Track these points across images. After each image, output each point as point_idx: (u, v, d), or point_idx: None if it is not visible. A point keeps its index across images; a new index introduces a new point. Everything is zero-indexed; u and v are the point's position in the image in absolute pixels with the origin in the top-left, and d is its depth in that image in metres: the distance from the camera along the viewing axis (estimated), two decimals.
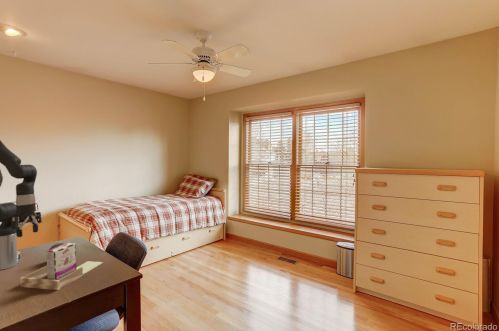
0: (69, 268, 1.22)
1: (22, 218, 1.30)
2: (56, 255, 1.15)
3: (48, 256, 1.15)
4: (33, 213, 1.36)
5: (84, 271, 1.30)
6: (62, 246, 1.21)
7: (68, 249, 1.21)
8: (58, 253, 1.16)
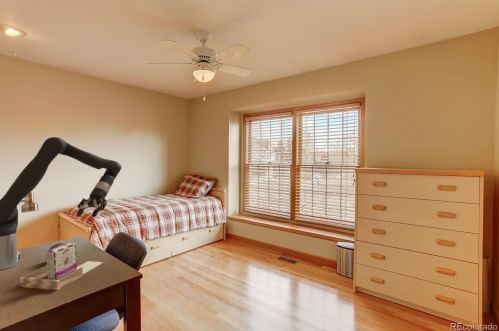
0: (69, 268, 1.22)
1: None
2: (56, 255, 1.15)
3: (48, 256, 1.15)
4: None
5: (84, 271, 1.30)
6: (62, 246, 1.21)
7: (68, 249, 1.21)
8: (58, 253, 1.16)
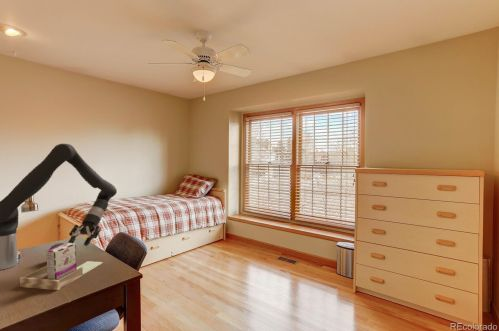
0: (69, 268, 1.22)
1: None
2: (56, 255, 1.15)
3: (48, 256, 1.15)
4: None
5: (84, 271, 1.30)
6: (62, 246, 1.21)
7: (68, 249, 1.21)
8: (58, 253, 1.16)
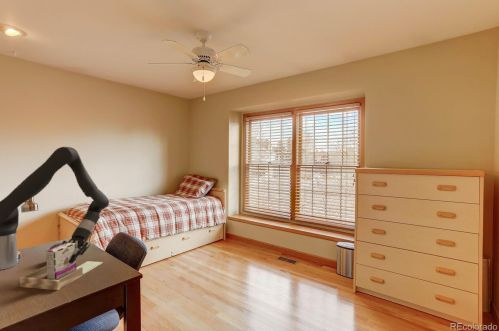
0: (69, 268, 1.22)
1: None
2: (56, 255, 1.15)
3: (48, 256, 1.15)
4: None
5: (84, 271, 1.30)
6: (62, 246, 1.21)
7: (67, 249, 1.21)
8: (58, 252, 1.16)
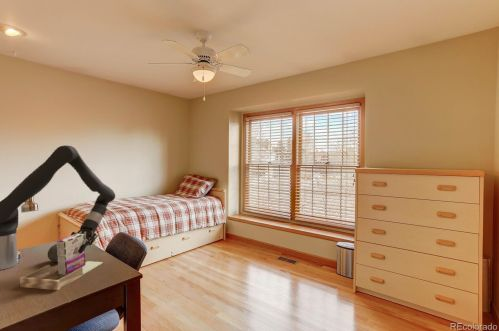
0: (78, 257, 1.27)
1: None
2: (66, 245, 1.21)
3: (58, 245, 1.21)
4: None
5: (84, 271, 1.30)
6: (71, 236, 1.26)
7: (77, 239, 1.26)
8: (68, 242, 1.22)
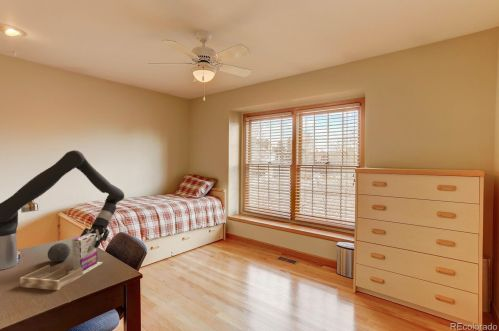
0: (91, 255, 1.36)
1: None
2: (81, 243, 1.30)
3: (74, 244, 1.29)
4: None
5: (84, 271, 1.30)
6: (85, 236, 1.35)
7: (90, 238, 1.35)
8: (82, 241, 1.30)
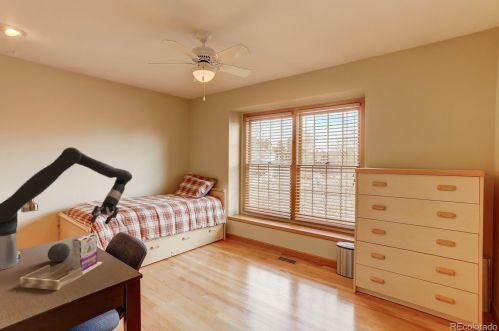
0: (91, 255, 1.36)
1: None
2: (81, 243, 1.30)
3: (74, 244, 1.29)
4: None
5: (84, 271, 1.30)
6: (85, 236, 1.35)
7: (90, 238, 1.35)
8: (83, 241, 1.30)
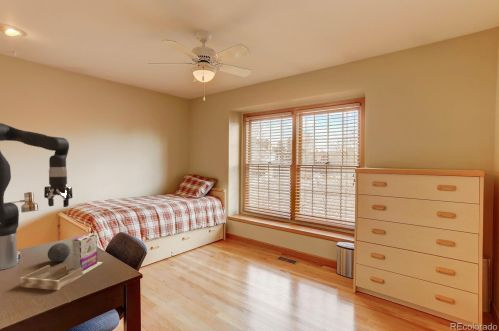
0: (91, 255, 1.36)
1: None
2: (81, 243, 1.30)
3: (74, 244, 1.29)
4: None
5: (84, 271, 1.30)
6: (85, 236, 1.35)
7: (90, 238, 1.35)
8: (83, 241, 1.30)
